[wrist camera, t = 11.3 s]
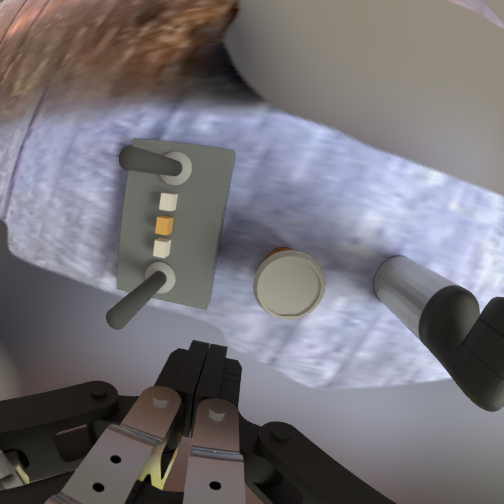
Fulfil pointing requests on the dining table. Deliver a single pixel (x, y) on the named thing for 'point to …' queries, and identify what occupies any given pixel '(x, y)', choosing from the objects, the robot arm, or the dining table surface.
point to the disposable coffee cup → (289, 284)
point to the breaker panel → (176, 222)
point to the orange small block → (164, 225)
